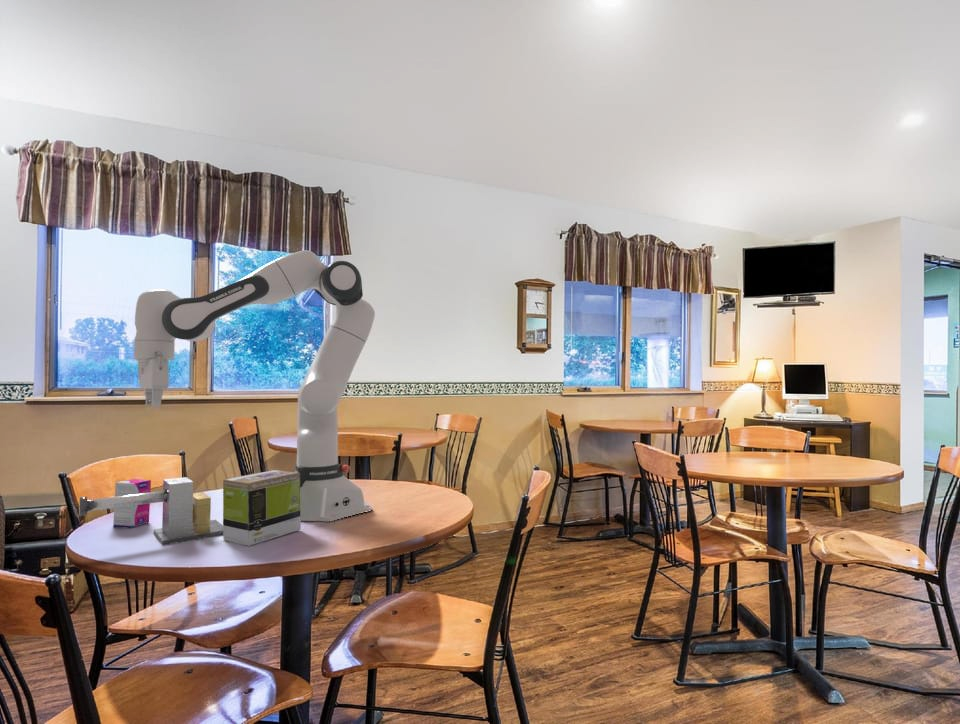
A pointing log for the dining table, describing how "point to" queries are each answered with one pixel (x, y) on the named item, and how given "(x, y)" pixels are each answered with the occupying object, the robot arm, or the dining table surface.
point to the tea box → (261, 506)
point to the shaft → (120, 501)
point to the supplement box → (135, 513)
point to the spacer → (201, 512)
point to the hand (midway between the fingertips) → (153, 406)
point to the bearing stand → (181, 514)
